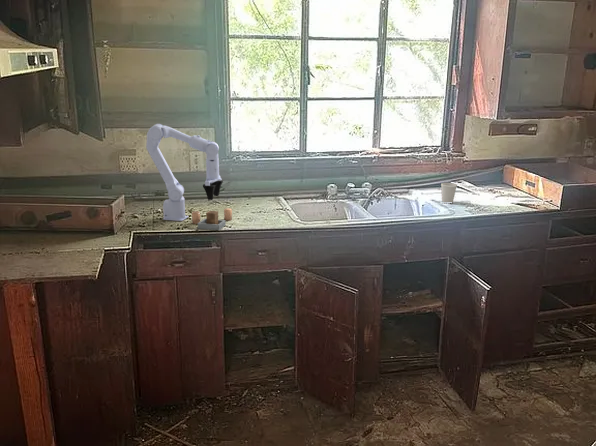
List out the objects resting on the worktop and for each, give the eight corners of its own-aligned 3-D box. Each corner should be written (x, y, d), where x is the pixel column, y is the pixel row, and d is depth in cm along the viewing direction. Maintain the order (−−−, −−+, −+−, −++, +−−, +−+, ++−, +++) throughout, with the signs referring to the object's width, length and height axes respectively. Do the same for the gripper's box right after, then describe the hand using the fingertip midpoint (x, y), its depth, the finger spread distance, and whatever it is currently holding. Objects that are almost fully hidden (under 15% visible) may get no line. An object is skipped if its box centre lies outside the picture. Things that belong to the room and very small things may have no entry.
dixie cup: (438, 203, 301) (440, 185, 298) (439, 200, 308) (441, 182, 306) (455, 205, 298) (456, 186, 296) (455, 201, 306) (457, 183, 303)
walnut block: (206, 226, 251) (206, 212, 250) (210, 223, 255) (209, 210, 254) (215, 226, 251) (214, 213, 249) (218, 224, 254) (218, 211, 253)
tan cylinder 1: (191, 223, 258) (190, 212, 256) (194, 221, 261) (193, 210, 259) (198, 224, 257) (198, 213, 255) (201, 222, 260) (201, 211, 259)
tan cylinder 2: (223, 220, 263) (222, 209, 262) (225, 218, 267) (225, 208, 265) (230, 221, 263) (230, 210, 261) (233, 218, 266) (232, 208, 265)
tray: (197, 228, 250) (197, 223, 250) (204, 223, 258) (204, 218, 257) (219, 230, 248) (219, 225, 248) (225, 225, 256) (225, 220, 255)
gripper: (215, 172, 252) (215, 202, 256) (226, 166, 266) (226, 194, 269) (200, 171, 253) (201, 201, 257) (212, 165, 267) (212, 193, 271)
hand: (213, 197), depth 263 cm, fingers open, 7 cm apart
